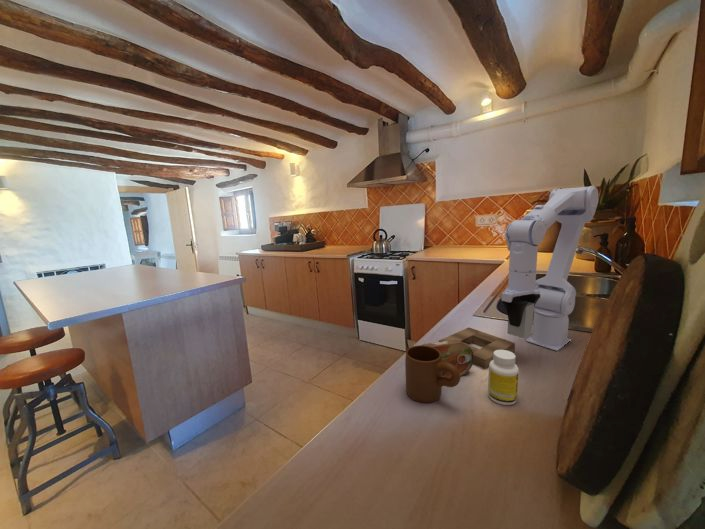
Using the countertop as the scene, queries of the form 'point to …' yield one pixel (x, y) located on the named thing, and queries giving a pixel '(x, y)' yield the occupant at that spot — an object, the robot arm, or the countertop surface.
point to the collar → (484, 340)
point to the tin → (454, 355)
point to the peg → (523, 323)
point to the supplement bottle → (503, 378)
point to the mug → (427, 373)
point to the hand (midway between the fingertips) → (519, 323)
